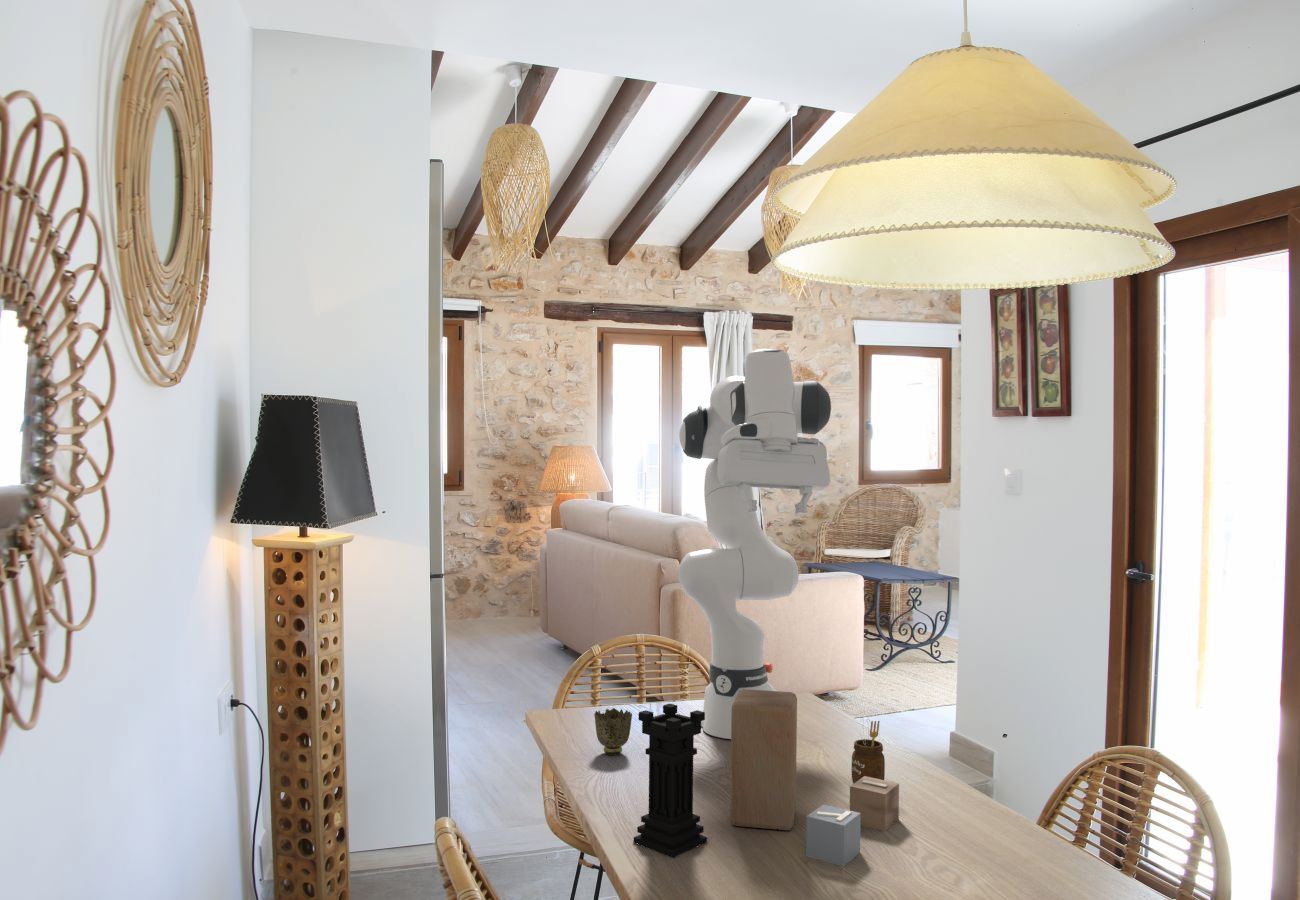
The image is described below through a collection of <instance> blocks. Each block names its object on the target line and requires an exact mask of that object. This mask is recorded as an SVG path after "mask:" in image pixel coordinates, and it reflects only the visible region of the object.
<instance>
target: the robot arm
mask: <svg viewBox="0 0 1300 900" xmlns="http://www.w3.org/2000/svg"><path fill="white" fill-rule="evenodd" d="M709 403H710V405H709V407H704V408H703V407H702V405H699V406H697V409H696V410H694V411H692V412H690V413H688V414H687V416H685V417H684V418H683V419H682V423H681V425H680V429H679V435H678V436H679V443H680V446H681V448H682V452H683V454H685V455H686V456H687V457H689V458H693V459H699V460H701V459H709V460H710V459H711V461H710V462H709V463H708V465H707V466H706V470H705V474H704V475H705V476H704V484H703V485H704V486H703V487H704V488H703V489H704V492H703V493H704V494H703V495H704V506H705V507H704V508H705V516H706V524H707V530H708V532H709V533H710V536H712V538H713V539H714V540H715V541H716V542H718V543H719V544H721V545H724V546H725V547H728V548H705V549H699V550H694V551H690V552H687V553H686V555H685V556H684V557H683V558H682V560H681V561H680V563H679V567H678V573H677V575H678V577H677V578H678V583H679V585H680V587H681V590H682V592H684V594H685V595H686V596H687V597H689V598H690V599H691V600H692V601H694V602H695V603H696V604H697V605H698V606H699V607H700V609H701V611H702V612H703V614H704V615H705V617H706V619H707V622H708V626H709V630H710V641H711V642H710V643H711V662H710V664H709V669H708V674H709V677H708V678H709V679H708V680H709V681H710V683H709V684H708V685H707V686H706V687H705V691H704V697H703V698H704V701H703V708H702V709H703V711H702V712H705V720H703V721H701V728H702V730H703V732H705V733H706V734H708V735H710V736H712V737H717V738H721V739H728V740H731V717H732V705H733V703H734V701H735V698H736V696H737V694H738V692H739V691H740V690H742V689H747V690H764V691H777V689H775V687H773V686H772V685H771V684H770V683H769V682H768V681H769V678H768V674H772V672H773V668H774V666H773V664H772V663H766V662H764V639H765V636H764V635H765V634H764V630H763V629H762V627H761V625H760V623H758V622H757V621H756V620H755V619H752V618H751V617H749V616H747V615H744V614H743V613H741V612H739V611H738V610H737V605H736V603H737V602H738V601H769V600H776V599H780V598H784V597H790V596H791V594H792V593H793V592H794V591H795V589H796V586H797V585H798V583H799V576H800V575H799V572H800V571H799V567H798V565H797V562H796V560H795V558H794V557H793V556H792V555H791V554H790V553H789V552H788V551H786V550H784V549H782V548H781V547H779V546H778V545H776V544H775V543H774V542H773V541H772V540H771V539H770V538H769V537H768V536H767V535H766V533H765V532H764V531H763V529H762V527H761V525H760V522H759V519H758V518H759V517H758V515H757V510H758V506H757V505H758V500H756V499H754V494H753V493H754V492H753V488H767V489H768V488H769V489H783V490H785V489H786V490H799V495H800V496H801V499H800V502H797V503H794V509H795V510H794V511H795V512H794V513H795V514H796V515H806V514H807V513H808V503H809V500H811V496H812V494H813V491H822V490H823V489H826V488H827V487H828V486H829V485H830V483H831V472H830V467H829V461H828V460H827V458H828V455H827V454H828V453H827V447H826V445H825V444H824V443H823V442H822V441H820V440H819V439H818V438H813V437H812V438H811V437H810V438H808V437H807V438H806V437H802V436H801V437H799V436H798V434H803V435H805V434H806V435H816V434H818V433H819V432H820V431H822V429H823V430H824V427H826V425H827V424H828V423H829V421H830V418H831V411H832V402H831V397H830V394H829V392H828V390H827V389H826V388H825V387H824V386H823V385H822V384H821V383H820V382H819V381H817V380H807V381H794V374H793V369H792V364H791V361H790V357H789V354H788V353H787V352H786V351H784V350H783V349H778V348H777V349H776V348H761V349H755V350H753V351H750V352H748V353H747V355H746V357H745V366H744V375H731V376H728V377H727V376H726V377H725V378H722V379H721V380H720V381H718V382H717V383H716V384H715V385H714V387H713V388H712V391H711V394H710V400H709Z"/></svg>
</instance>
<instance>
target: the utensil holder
mask: <svg viewBox="0 0 1300 900" xmlns="http://www.w3.org/2000/svg"><path fill="white" fill-rule="evenodd" d="M865 719H866V723H867V724H869V722H870V728H869V727H867V734H868V735H867V737H870V739H869V738H867V739H866V738H865V736H863V737H862V733H863V735H865V727H864V724H862V730H863V731H862V733H861V732H859V735H860V737H861V739H857V740H855V741H854V743H853V749H854V750H853V752H852V755H851V769H850V770H851V779H852V781H853V782H854V783H855V782H857V781H858V780H859V779H861V778H862V777H864V776H867V777H871V778H876V779H881V780H885V778H886V777H885V774H886V773H885V772H886V771H885V770H886V769H885V768H886V762H885V754H884V753H883V752H884V746H883V743H882V742H880V741H878V740H875V739H876V738H877V737H879V730H880V720H878V721H877V720H875V721H873V720H870V719H869V718H866V717H863V718H862V720H863V721H862V720H860V721H859V723H861V722H862V723H864V721H865Z"/></svg>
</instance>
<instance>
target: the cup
mask: <svg viewBox="0 0 1300 900" xmlns="http://www.w3.org/2000/svg"><path fill="white" fill-rule="evenodd" d="M593 716H594V722H595V723H594V724H595V733H596V737H597V740H598V742H599V743H600V745H602V746H603V752H604V753H605V754H606V755H608V756H617V755H621V754H622V752H623V746H625V744H626V743H627V742H629V741H628V740H629V738H630V735H631V728H632V719H633V718H632V717H633V712H631V711H628V709H626V710H625V712H624V711H623V709H620V710H618V709H616V708H614V707H613V708H611V709H609V708H606V709H605V711H604V712H602V713H601V711H600V710H598V711H595V713H594V714H593Z"/></svg>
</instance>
